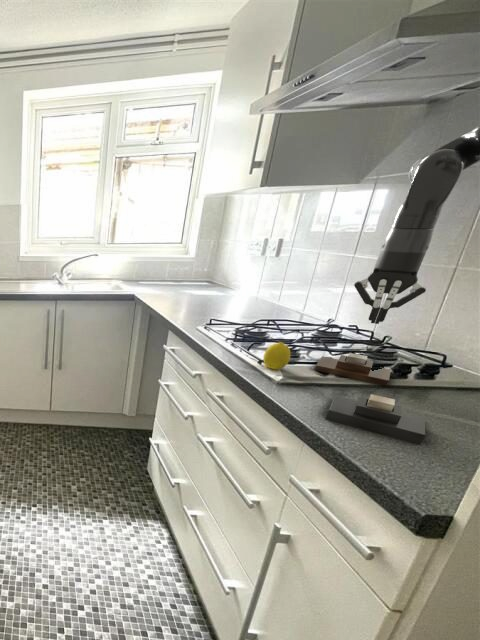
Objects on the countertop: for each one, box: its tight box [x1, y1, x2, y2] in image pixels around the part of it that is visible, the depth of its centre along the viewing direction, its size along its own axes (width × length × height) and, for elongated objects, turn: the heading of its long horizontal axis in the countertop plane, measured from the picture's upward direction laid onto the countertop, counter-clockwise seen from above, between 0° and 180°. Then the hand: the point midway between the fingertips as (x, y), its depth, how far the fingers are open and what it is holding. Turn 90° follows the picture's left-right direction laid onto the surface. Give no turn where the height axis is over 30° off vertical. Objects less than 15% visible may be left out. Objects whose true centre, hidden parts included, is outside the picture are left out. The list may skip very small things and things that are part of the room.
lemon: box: [263, 341, 291, 370], centre depth 109 cm, size 6×6×8 cm
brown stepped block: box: [314, 354, 392, 386], centre depth 107 cm, size 14×10×4 cm
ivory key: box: [367, 393, 396, 412], centre depth 83 cm, size 4×4×2 cm
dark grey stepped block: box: [324, 395, 426, 446], centre depth 84 cm, size 14×10×4 cm
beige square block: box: [346, 352, 368, 365], centre depth 106 cm, size 4×4×2 cm
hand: (374, 322), depth 102 cm, fingers closed
